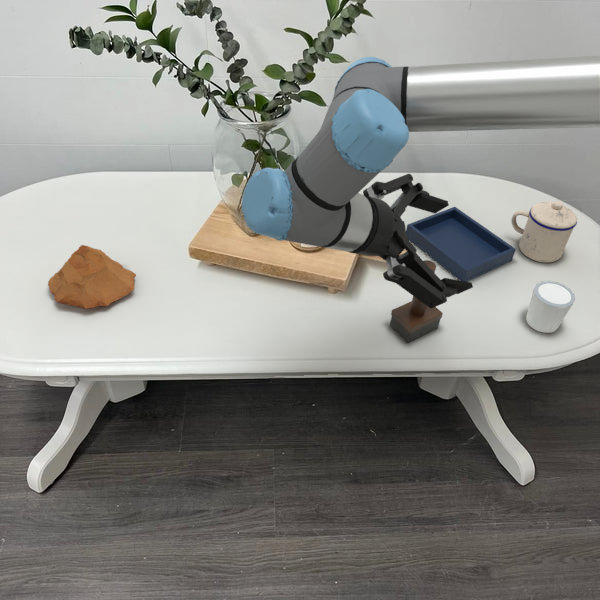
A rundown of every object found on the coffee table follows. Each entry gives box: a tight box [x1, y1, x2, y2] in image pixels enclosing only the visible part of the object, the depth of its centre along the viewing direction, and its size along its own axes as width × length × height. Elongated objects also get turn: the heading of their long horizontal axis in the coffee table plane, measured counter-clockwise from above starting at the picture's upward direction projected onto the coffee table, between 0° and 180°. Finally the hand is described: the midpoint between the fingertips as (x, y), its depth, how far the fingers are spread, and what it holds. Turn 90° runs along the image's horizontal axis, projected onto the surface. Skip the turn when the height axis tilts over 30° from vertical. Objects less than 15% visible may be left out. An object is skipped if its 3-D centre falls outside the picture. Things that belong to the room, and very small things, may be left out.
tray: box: [406, 206, 517, 282], centre depth 118 cm, size 18×14×3 cm
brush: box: [389, 259, 444, 343], centre depth 97 cm, size 5×7×14 cm
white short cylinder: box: [525, 280, 576, 334], centre depth 101 cm, size 7×7×7 cm
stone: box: [47, 244, 137, 310], centre depth 106 cm, size 15×15×10 cm
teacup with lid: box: [511, 200, 578, 263], centre depth 116 cm, size 12×9×12 cm
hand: (452, 246), depth 86 cm, fingers open, 13 cm apart
